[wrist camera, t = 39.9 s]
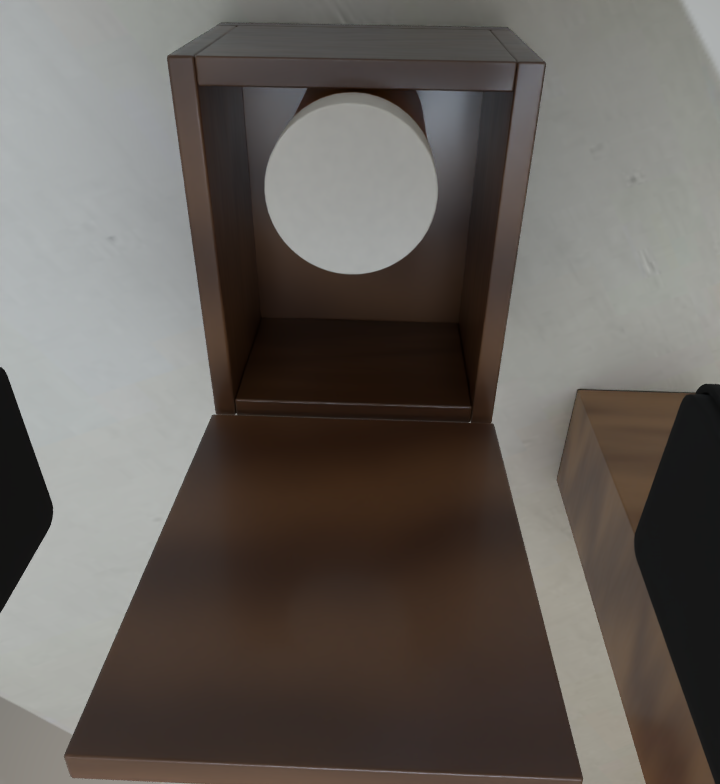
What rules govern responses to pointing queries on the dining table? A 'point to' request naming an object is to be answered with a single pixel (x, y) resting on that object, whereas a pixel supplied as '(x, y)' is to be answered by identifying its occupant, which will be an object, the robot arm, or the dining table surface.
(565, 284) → the dining table surface
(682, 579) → the robot arm
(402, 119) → the pill bottle
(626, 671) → the stand
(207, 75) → the chest
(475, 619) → the lid
